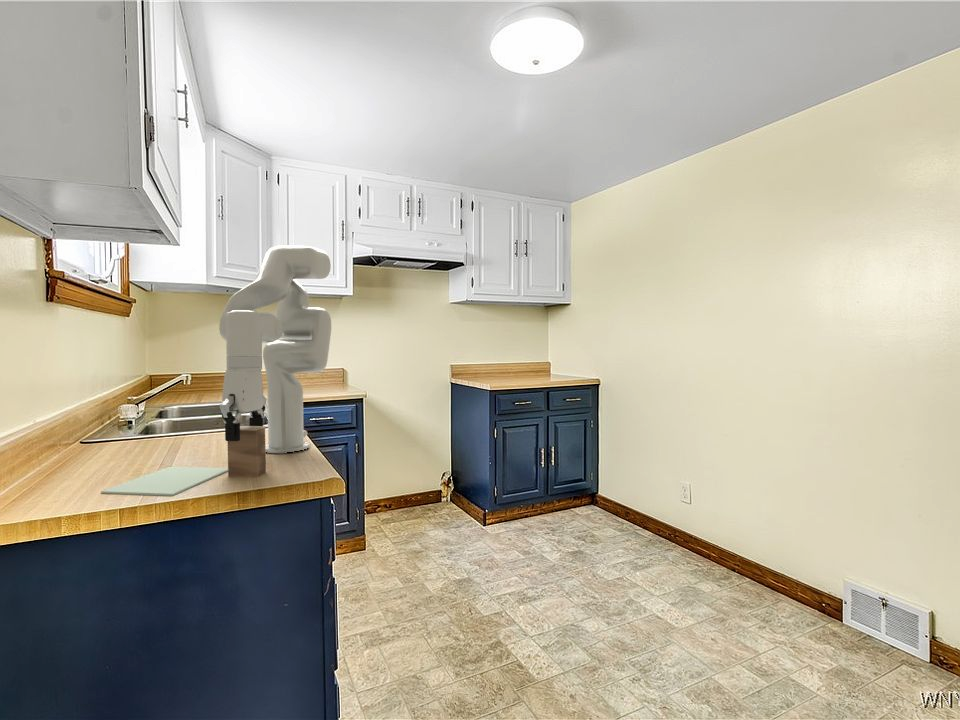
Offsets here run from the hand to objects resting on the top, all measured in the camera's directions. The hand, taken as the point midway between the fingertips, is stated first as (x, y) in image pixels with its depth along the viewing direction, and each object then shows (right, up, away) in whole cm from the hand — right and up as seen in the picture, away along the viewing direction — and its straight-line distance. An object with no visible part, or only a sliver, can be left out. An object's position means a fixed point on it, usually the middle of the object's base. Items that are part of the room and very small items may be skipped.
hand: (245, 437), depth 119 cm
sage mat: (-15, -9, -4) cm, 18 cm away
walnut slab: (0, -9, +1) cm, 9 cm away
